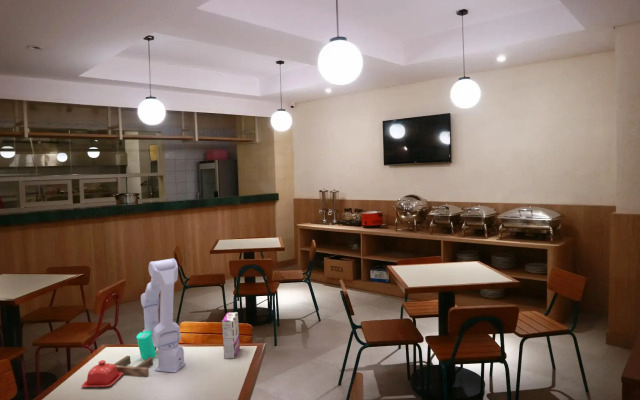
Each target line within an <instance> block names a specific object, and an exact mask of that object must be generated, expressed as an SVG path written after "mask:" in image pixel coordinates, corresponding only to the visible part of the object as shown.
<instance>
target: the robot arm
mask: <svg viewBox="0 0 640 400" xmlns="http://www.w3.org/2000/svg"><path fill="white" fill-rule="evenodd" d="M178 273H179V266H178V262H177V260H176V259H175V258H168V259H161V260H155V261H150V262H149V264H148V274H149V276H150V278H151V279H150V282H148V283H147V284H146V288H145V290H144V291H145V292H143V293H142V294H141V295H140V304H141V307H142V308H143V319H144V322H143V323H144V329H143V330H142V332H145V331H151V333H152V340H153V344H154V346H155V351H156V352H157V355H158V366H157V367H156V368H154V371H155V372H168V373H176V372H178V371H179V370H180V369H182V367H184V366H185V365H186V362H185V352H184V347H182V346H180V345H179V343H180V342H181V339H182V335H181V329H180V326H179V324H178V323H177V322H175V321H174V290H175V283H176V282H177V281H178V276H179V274H178ZM159 295H160V296H159ZM159 309H160V311H159ZM159 312H160V313H159ZM159 314H160V315H159ZM159 317H160V318H159ZM142 335H143V334H142ZM142 335H141V336H140V338H145V337H146V336H147V335H149V334H144V335H143V336H142ZM145 335H146V336H145Z"/></svg>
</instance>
